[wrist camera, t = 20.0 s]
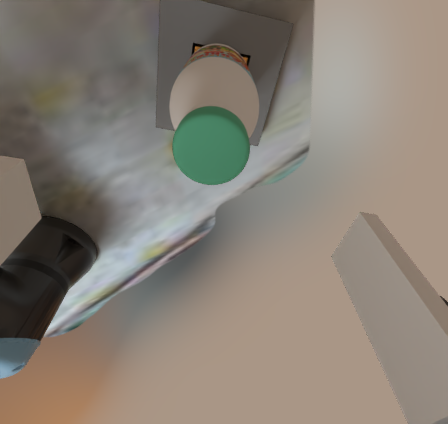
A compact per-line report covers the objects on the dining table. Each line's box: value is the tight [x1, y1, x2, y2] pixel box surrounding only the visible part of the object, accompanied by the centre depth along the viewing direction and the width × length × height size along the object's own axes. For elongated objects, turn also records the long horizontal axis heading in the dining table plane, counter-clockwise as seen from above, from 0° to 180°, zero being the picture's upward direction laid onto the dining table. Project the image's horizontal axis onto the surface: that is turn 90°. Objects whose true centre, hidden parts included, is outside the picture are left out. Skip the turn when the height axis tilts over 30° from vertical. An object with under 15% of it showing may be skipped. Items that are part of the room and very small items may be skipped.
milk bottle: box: [169, 43, 259, 185], centre depth 23 cm, size 8×8×20 cm
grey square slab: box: [156, 0, 293, 146], centre depth 32 cm, size 14×14×3 cm
